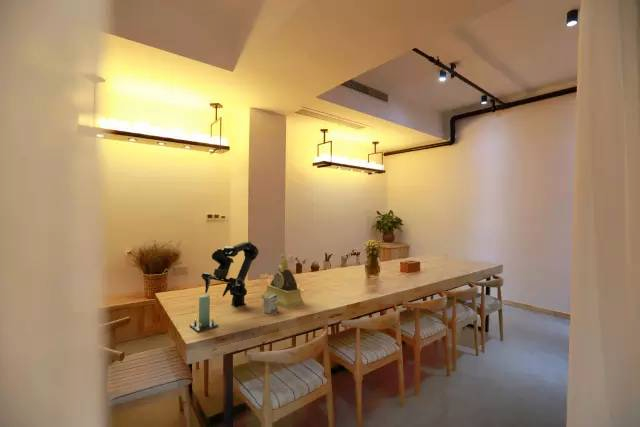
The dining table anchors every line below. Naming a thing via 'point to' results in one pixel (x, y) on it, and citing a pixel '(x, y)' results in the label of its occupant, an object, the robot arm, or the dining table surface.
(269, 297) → the medicine box
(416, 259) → the dining table surface
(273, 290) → the decorative clock
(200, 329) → the plate
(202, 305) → the teal wooden post
